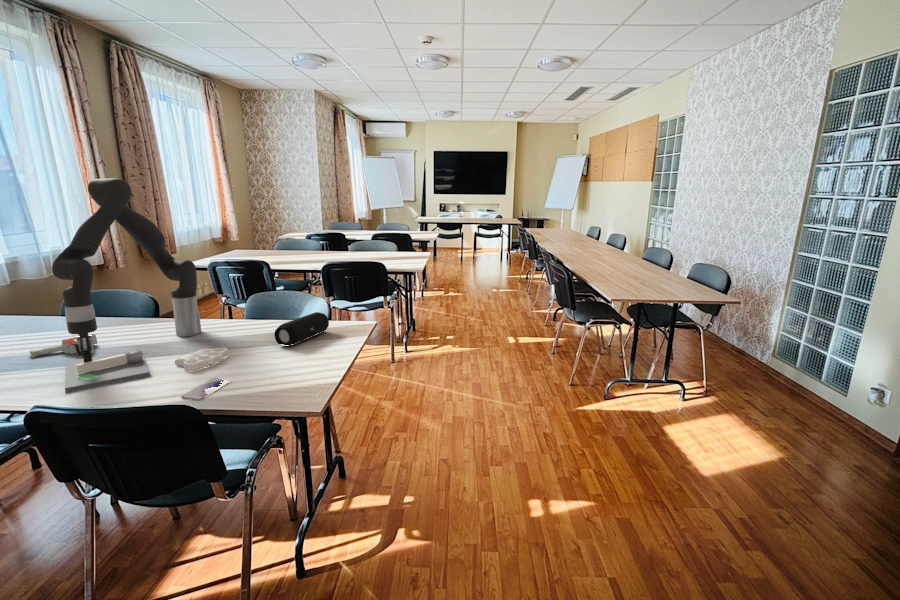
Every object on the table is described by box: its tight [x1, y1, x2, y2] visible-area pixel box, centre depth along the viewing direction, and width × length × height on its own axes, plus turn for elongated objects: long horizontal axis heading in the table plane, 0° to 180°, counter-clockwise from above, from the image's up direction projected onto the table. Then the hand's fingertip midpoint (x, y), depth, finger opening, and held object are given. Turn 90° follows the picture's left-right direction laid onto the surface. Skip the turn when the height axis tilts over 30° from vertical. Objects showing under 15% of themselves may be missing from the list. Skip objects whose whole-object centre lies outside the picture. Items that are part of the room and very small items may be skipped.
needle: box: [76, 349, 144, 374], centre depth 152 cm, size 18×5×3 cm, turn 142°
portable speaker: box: [273, 312, 330, 345], centre depth 190 cm, size 26×10×10 cm, turn 158°
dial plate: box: [64, 349, 151, 394], centre depth 153 cm, size 22×28×2 cm
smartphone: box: [180, 377, 224, 401], centre depth 141 cm, size 7×1×15 cm
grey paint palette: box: [174, 347, 229, 372], centre depth 163 cm, size 3×18×15 cm
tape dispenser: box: [29, 333, 98, 358], centre depth 170 cm, size 18×5×20 cm
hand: (89, 366), depth 150 cm, fingers closed
